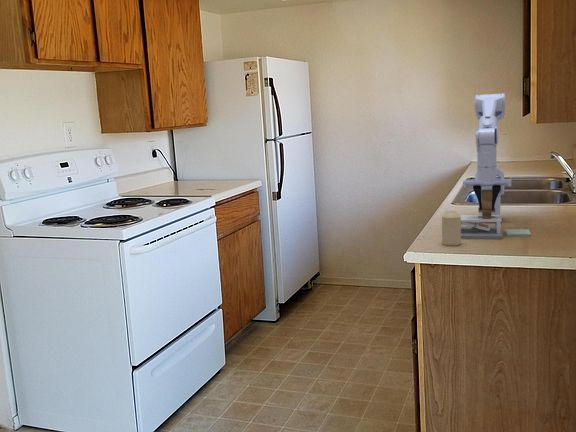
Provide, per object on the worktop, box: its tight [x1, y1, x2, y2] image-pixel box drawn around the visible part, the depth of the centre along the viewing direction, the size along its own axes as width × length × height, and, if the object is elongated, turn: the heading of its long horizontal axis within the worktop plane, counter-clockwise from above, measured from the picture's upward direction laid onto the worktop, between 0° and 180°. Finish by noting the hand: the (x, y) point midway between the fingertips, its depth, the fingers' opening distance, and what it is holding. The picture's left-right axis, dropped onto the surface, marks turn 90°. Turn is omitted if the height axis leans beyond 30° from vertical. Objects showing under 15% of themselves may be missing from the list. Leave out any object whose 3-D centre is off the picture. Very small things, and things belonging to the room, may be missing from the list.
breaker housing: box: [459, 214, 504, 240], centre depth 196 cm, size 14×16×5 cm
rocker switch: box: [461, 222, 491, 231], centre depth 195 cm, size 4×9×1 cm, turn 73°
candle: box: [441, 210, 462, 247], centre depth 184 cm, size 6×6×10 cm
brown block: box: [477, 190, 495, 219], centre depth 193 cm, size 5×5×10 cm
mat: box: [505, 228, 532, 237], centre depth 193 cm, size 7×7×1 cm
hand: (486, 209), depth 194 cm, fingers closed on brown block, 3 cm apart
